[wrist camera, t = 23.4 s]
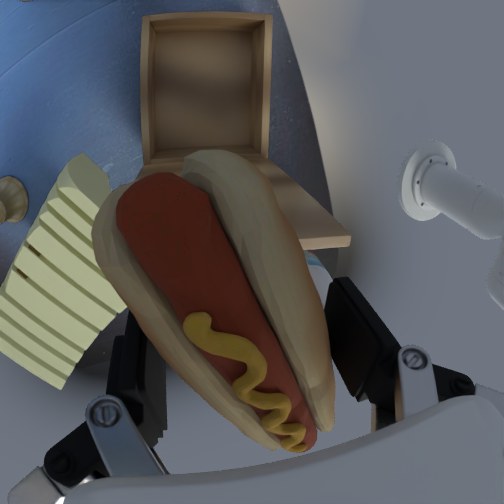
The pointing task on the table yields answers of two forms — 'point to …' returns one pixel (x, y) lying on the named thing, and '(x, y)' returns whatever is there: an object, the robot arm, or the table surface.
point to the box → (205, 84)
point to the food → (224, 294)
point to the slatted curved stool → (59, 279)
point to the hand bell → (12, 200)
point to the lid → (287, 206)
